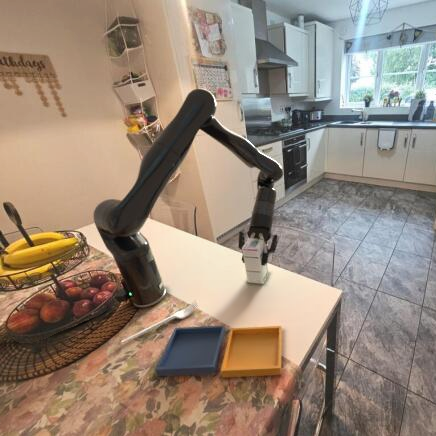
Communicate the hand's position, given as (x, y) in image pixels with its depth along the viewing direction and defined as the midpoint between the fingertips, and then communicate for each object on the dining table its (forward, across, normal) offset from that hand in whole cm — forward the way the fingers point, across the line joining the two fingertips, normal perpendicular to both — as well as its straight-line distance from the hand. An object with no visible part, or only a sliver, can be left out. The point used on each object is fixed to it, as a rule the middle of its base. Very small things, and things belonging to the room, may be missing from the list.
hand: (253, 264), depth 80 cm
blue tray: (+25, +6, +14) cm, 29 cm away
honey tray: (+23, -9, +12) cm, 27 cm away
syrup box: (+4, 0, -6) cm, 8 cm away
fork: (+21, +20, +10) cm, 30 cm away
